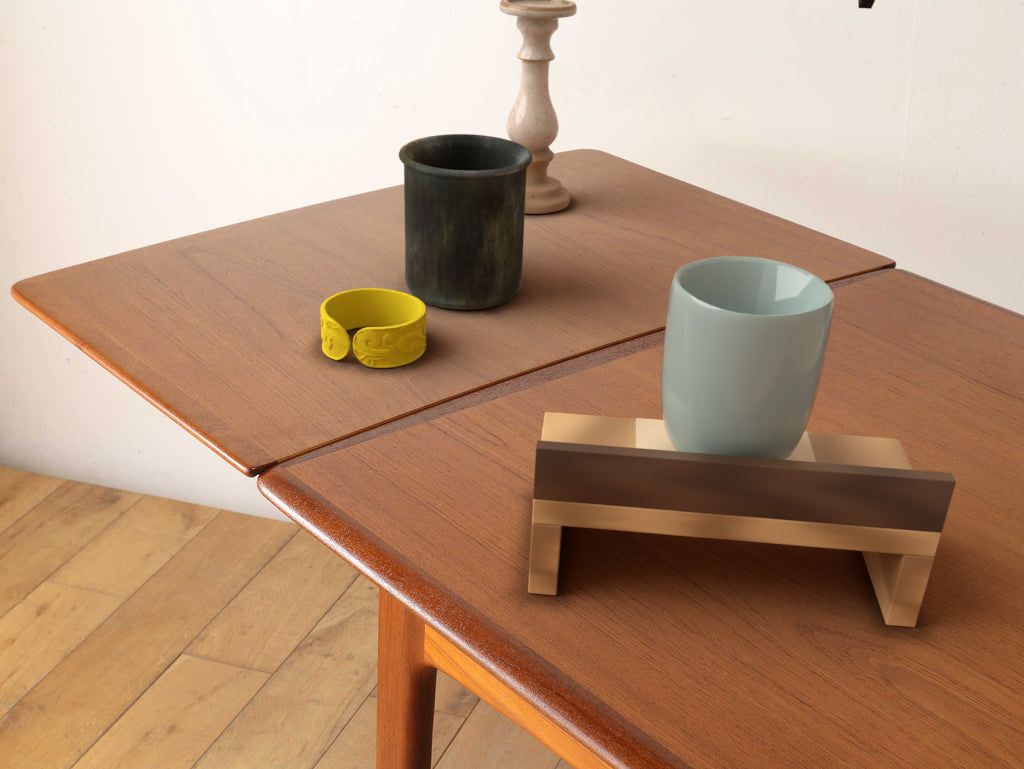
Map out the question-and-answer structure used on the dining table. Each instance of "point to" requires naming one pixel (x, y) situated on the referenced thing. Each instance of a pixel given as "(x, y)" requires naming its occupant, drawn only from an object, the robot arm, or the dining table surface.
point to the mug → (464, 219)
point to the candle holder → (537, 99)
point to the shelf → (741, 499)
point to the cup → (743, 355)
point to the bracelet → (374, 345)
